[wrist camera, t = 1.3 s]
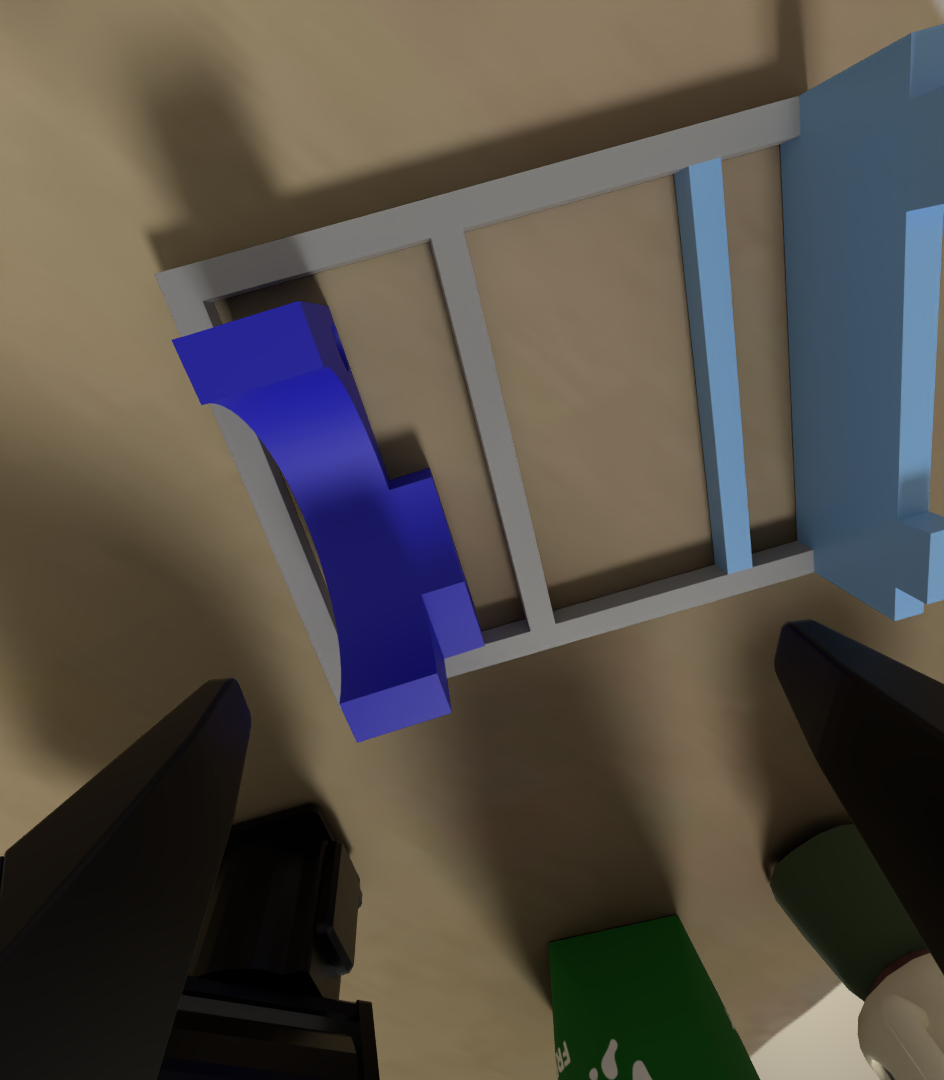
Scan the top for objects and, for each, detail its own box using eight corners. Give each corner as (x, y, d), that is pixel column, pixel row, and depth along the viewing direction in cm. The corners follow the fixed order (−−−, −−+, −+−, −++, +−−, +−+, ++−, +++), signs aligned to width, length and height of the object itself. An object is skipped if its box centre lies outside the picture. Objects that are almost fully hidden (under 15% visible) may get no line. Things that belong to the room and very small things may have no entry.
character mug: (704, 864, 30) (911, 1237, 18) (805, 770, 28) (1109, 1109, 16) (832, 933, 33) (1080, 1288, 21) (929, 852, 31) (1258, 1185, 19)
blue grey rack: (342, 693, 24) (323, 815, 18) (167, 276, 18) (53, 255, 12) (821, 555, 24) (955, 631, 18) (809, 98, 18) (1003, -6, 12)
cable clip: (474, 606, 23) (499, 698, 18) (367, 640, 23) (357, 742, 17) (373, 292, 19) (362, 281, 13) (239, 333, 19) (171, 339, 13)
